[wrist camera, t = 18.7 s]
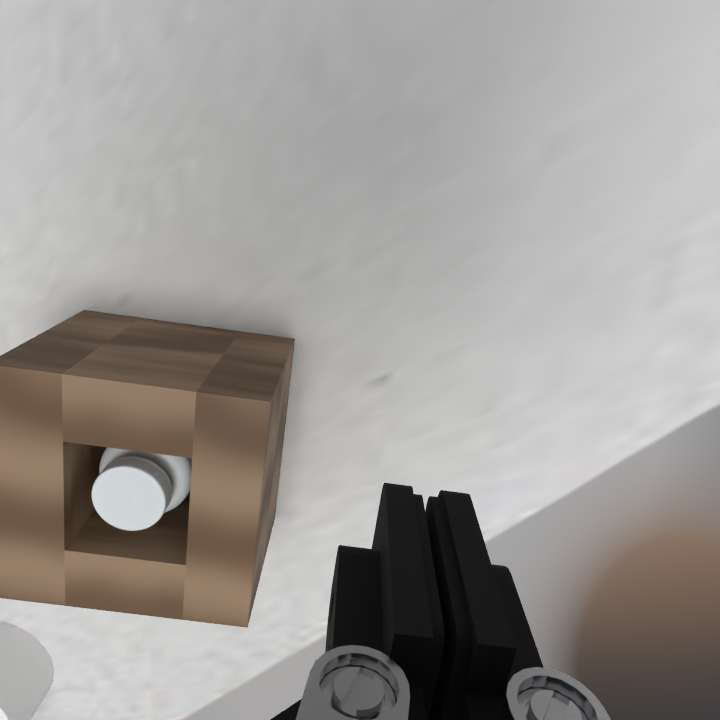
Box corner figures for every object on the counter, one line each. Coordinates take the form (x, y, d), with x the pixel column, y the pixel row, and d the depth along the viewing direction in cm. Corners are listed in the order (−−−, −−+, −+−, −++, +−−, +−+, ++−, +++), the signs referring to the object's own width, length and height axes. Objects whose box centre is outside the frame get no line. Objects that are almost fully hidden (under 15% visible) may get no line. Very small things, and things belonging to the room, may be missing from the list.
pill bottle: (135, 449, 42) (71, 530, 33) (146, 379, 41) (83, 444, 32) (212, 467, 43) (170, 552, 34) (226, 398, 41) (186, 468, 32)
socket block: (83, 310, 40) (-15, 363, 30) (294, 339, 41) (270, 401, 30) (84, 494, 45) (-2, 597, 34) (274, 518, 45) (247, 627, 35)
